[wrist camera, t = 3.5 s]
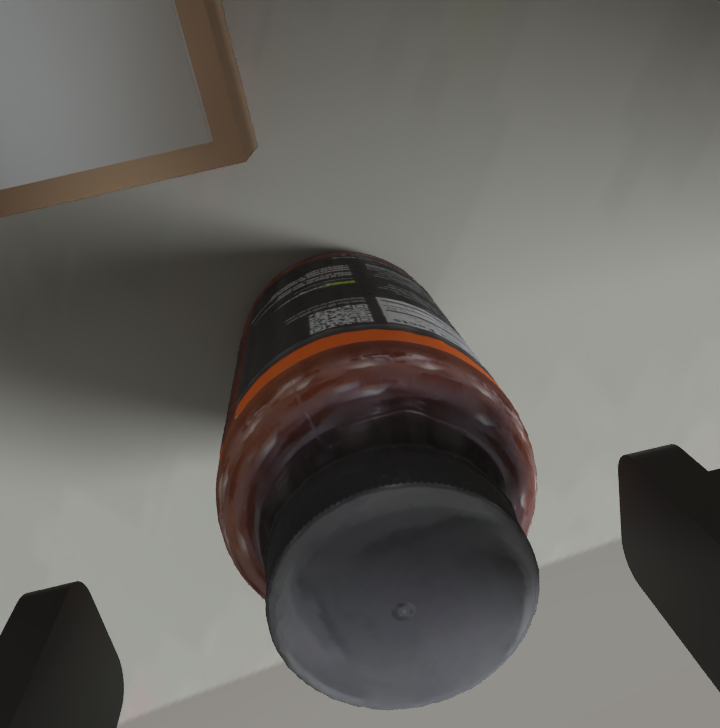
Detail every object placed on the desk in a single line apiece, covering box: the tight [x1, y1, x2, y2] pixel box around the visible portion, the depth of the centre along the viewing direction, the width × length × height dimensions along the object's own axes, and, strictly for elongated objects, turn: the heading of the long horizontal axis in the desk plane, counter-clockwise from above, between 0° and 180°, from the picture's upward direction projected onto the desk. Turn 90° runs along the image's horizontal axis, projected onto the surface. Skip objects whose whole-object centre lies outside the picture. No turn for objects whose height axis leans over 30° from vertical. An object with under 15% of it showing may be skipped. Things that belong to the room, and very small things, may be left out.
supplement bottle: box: [216, 252, 539, 710], centre depth 15 cm, size 6×6×11 cm
